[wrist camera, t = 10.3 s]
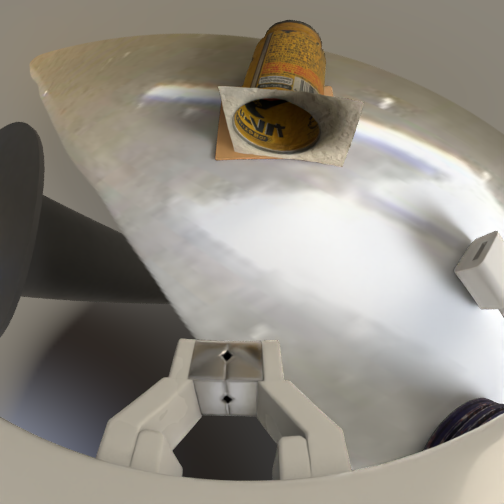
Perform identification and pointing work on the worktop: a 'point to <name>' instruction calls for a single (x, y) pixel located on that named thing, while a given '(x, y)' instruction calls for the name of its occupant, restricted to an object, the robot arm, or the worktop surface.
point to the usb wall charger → (484, 271)
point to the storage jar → (465, 420)
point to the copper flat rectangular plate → (225, 143)
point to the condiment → (289, 101)
